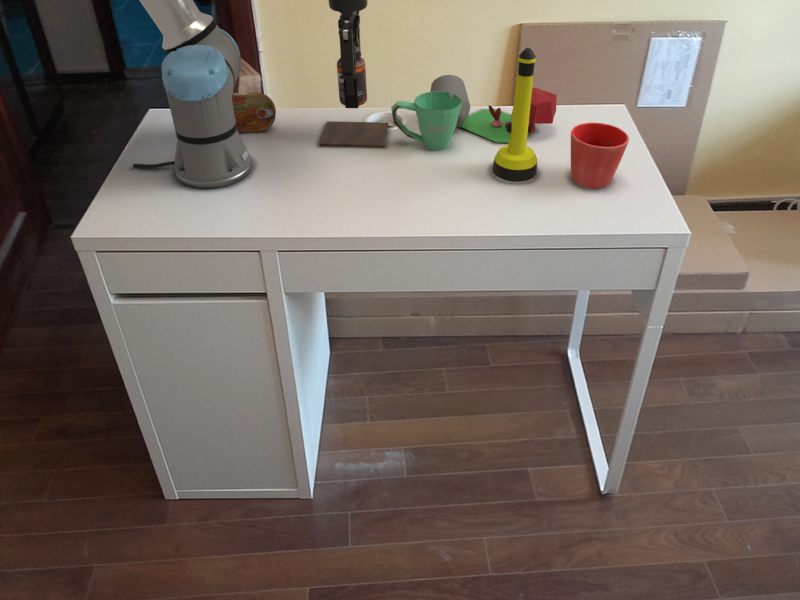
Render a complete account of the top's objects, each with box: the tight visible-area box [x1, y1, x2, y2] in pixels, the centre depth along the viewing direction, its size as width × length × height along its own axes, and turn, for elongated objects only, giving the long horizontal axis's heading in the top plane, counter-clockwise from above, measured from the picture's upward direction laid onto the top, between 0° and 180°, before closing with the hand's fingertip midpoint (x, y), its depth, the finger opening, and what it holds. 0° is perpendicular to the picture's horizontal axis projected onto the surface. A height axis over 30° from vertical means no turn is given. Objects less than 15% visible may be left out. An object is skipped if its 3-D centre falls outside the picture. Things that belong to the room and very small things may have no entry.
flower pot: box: [570, 122, 630, 190], centre depth 133 cm, size 11×11×10 cm
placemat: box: [319, 120, 389, 148], centre depth 152 cm, size 14×11×1 cm
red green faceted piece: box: [459, 86, 558, 144], centre depth 151 cm, size 15×20×9 cm
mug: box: [390, 91, 462, 151], centre depth 145 cm, size 15×10×10 cm
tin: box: [232, 91, 277, 133], centre depth 152 cm, size 15×3×8 cm, turn 92°
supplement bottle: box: [336, 47, 368, 107], centre depth 143 cm, size 6×6×11 cm
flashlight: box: [491, 47, 538, 185], centre depth 131 cm, size 25×9×9 cm
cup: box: [429, 74, 471, 130], centre depth 152 cm, size 10×9×10 cm
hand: (353, 100), depth 147 cm, fingers closed on supplement bottle, 6 cm apart
